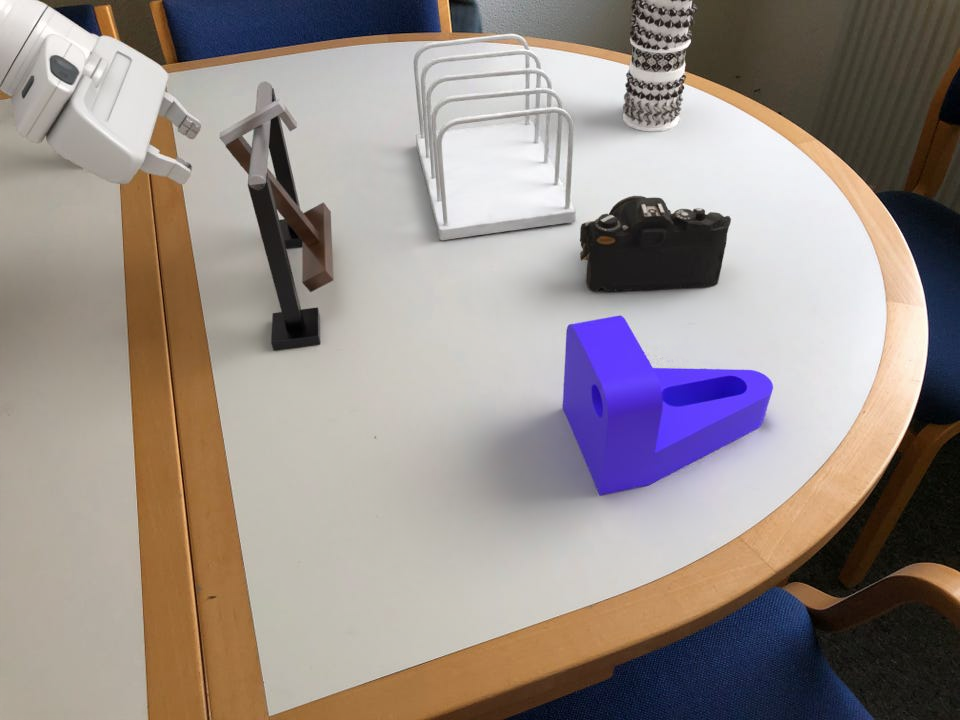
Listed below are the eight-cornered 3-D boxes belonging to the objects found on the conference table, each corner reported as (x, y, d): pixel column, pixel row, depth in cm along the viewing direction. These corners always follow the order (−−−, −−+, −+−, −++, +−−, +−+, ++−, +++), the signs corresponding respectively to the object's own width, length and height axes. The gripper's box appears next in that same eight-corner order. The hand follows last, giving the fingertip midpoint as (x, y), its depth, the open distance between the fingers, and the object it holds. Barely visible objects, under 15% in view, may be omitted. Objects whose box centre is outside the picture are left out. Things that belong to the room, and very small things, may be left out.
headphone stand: (310, 292, 86) (207, 172, 75) (310, 222, 96) (219, 107, 85) (372, 260, 85) (277, 133, 74) (365, 193, 95) (280, 72, 84)
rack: (273, 350, 85) (226, 187, 71) (278, 227, 102) (241, 77, 88) (320, 344, 85) (282, 181, 72) (317, 223, 102) (286, 73, 89)
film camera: (681, 224, 99) (692, 151, 92) (737, 280, 91) (754, 204, 84) (550, 257, 95) (552, 183, 88) (596, 318, 86) (602, 242, 80)
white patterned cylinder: (683, 107, 122) (710, -71, 105) (679, 135, 116) (706, -50, 99) (624, 102, 124) (640, -73, 107) (617, 130, 118) (633, -53, 101)
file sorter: (416, 146, 116) (405, 39, 106) (532, 132, 118) (533, 26, 108) (440, 241, 98) (430, 124, 88) (576, 224, 100) (582, 106, 89)
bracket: (599, 495, 69) (609, 401, 61) (562, 407, 77) (567, 314, 69) (789, 455, 72) (823, 359, 64) (735, 374, 79) (759, 280, 71)
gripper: (65, 50, 82) (188, 128, 90) (12, 144, 67) (165, 228, 75) (94, 2, 80) (218, 87, 87) (46, 88, 65) (200, 181, 72)
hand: (193, 153), depth 81 cm, fingers open, 8 cm apart
